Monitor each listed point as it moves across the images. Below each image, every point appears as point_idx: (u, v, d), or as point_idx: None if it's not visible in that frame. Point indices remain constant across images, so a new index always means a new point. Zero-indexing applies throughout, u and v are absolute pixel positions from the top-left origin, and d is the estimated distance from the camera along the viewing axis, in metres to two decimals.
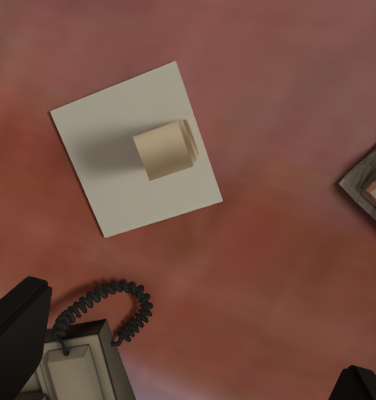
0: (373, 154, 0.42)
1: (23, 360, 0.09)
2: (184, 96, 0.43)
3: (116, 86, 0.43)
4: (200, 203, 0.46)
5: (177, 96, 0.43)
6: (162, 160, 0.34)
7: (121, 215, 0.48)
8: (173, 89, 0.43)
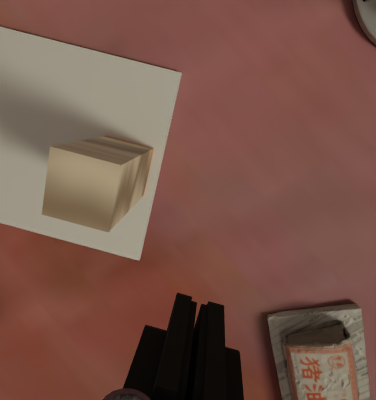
0: (320, 312, 0.35)
1: None
2: (166, 120, 0.31)
3: (92, 52, 0.30)
4: (112, 247, 0.35)
5: (158, 115, 0.31)
6: (74, 200, 0.22)
7: (11, 204, 0.35)
8: (158, 104, 0.31)
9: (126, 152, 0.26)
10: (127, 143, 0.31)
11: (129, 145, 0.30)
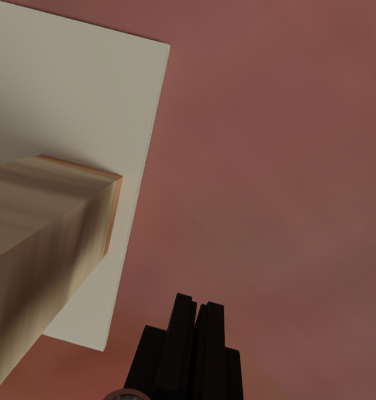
0: None
1: None
2: (143, 129, 0.18)
3: (10, 8, 0.17)
4: (60, 331, 0.22)
5: (129, 120, 0.18)
6: None
7: None
8: (129, 100, 0.18)
9: (53, 197, 0.13)
10: (74, 169, 0.17)
11: (75, 174, 0.17)
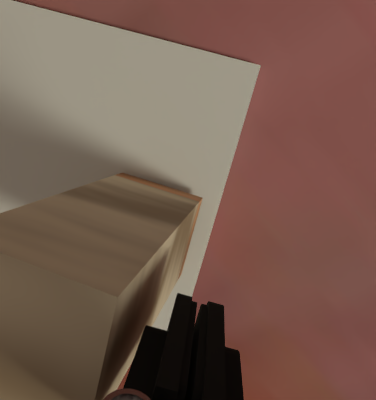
0: None
1: None
2: (228, 149, 0.18)
3: (100, 28, 0.17)
4: None
5: (215, 139, 0.18)
6: (4, 361, 0.09)
7: None
8: (216, 120, 0.18)
9: (147, 222, 0.12)
10: (156, 190, 0.17)
11: (158, 195, 0.16)
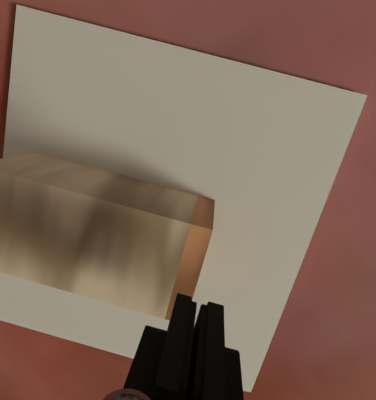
0: None
1: None
2: (327, 178, 0.18)
3: (203, 58, 0.17)
4: None
5: (314, 168, 0.18)
6: None
7: (46, 301, 0.22)
8: (317, 149, 0.17)
9: (89, 188, 0.15)
10: (187, 206, 0.16)
11: (170, 204, 0.16)
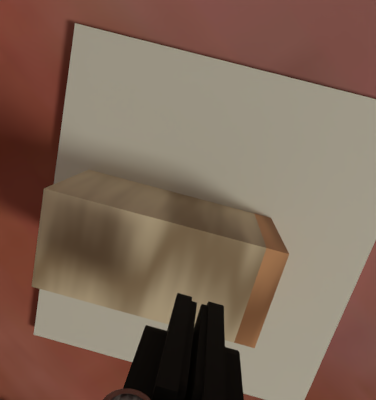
0: None
1: None
2: None
3: (265, 76, 0.17)
4: (258, 389, 0.22)
5: (374, 186, 0.17)
6: None
7: (93, 318, 0.21)
8: None
9: (157, 210, 0.15)
10: (252, 226, 0.16)
11: (236, 225, 0.16)
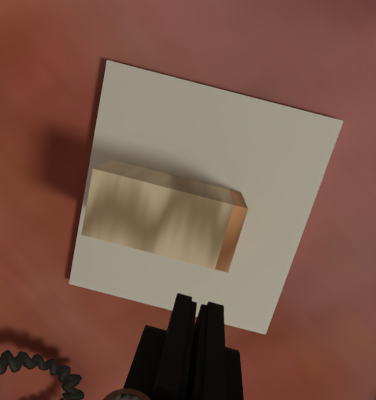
0: None
1: None
2: (318, 176, 0.26)
3: (234, 96, 0.25)
4: (235, 320, 0.30)
5: (309, 169, 0.26)
6: None
7: (114, 270, 0.29)
8: (311, 156, 0.26)
9: (164, 183, 0.23)
10: (226, 195, 0.24)
11: (216, 194, 0.24)
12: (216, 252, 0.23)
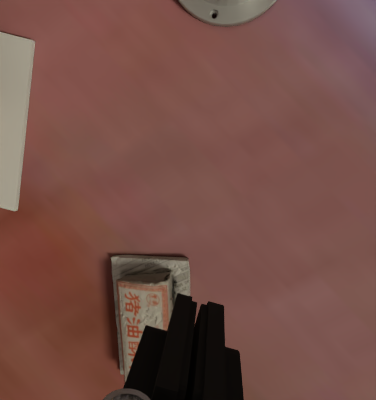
0: (155, 259, 0.40)
1: None
2: (24, 83, 0.36)
3: None
4: None
5: (17, 78, 0.36)
6: None
7: None
8: (16, 68, 0.35)
9: None
10: None
11: None
12: None
